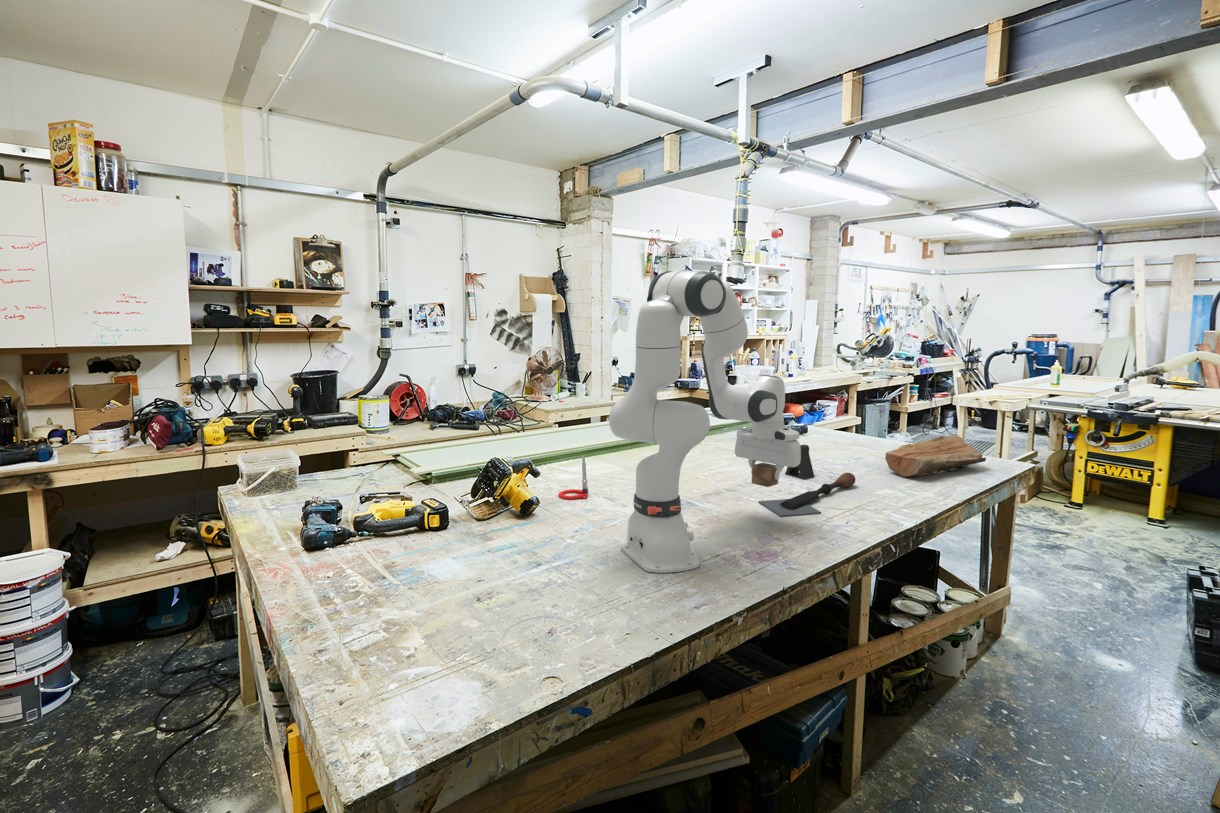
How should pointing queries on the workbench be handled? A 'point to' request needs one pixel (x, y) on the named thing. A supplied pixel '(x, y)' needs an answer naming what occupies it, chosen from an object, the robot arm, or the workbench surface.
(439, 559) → the workbench surface
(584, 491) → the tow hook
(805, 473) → the phone stand
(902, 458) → the log
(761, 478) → the walnut block
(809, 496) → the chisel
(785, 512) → the charcoal mat
